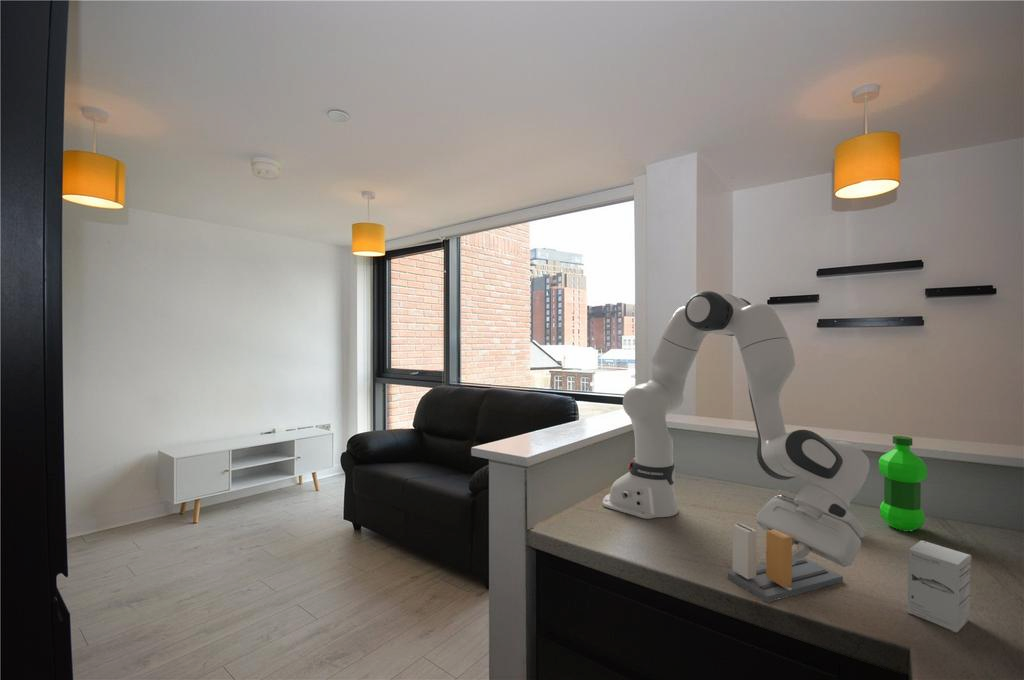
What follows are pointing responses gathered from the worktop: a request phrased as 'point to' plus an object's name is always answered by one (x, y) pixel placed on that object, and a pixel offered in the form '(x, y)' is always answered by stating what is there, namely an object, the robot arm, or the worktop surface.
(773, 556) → the fader orange
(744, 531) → the fader white
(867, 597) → the worktop surface
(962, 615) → the supplement box
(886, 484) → the plastic bottle
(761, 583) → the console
